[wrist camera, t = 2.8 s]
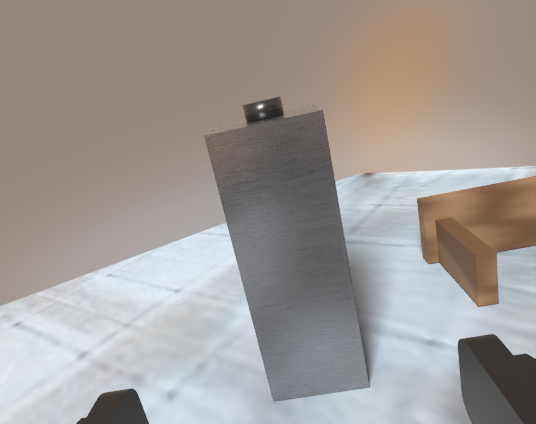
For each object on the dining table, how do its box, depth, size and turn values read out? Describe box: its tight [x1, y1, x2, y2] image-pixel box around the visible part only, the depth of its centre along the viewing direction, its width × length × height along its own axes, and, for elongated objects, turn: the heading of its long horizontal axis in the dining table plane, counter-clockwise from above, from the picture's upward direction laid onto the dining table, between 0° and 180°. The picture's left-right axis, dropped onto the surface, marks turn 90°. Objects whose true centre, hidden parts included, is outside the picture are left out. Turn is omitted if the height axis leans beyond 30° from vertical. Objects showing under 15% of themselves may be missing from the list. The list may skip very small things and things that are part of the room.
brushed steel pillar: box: [204, 97, 369, 401], centre depth 21 cm, size 5×5×15 cm
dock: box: [417, 176, 536, 307], centre depth 27 cm, size 11×8×5 cm
